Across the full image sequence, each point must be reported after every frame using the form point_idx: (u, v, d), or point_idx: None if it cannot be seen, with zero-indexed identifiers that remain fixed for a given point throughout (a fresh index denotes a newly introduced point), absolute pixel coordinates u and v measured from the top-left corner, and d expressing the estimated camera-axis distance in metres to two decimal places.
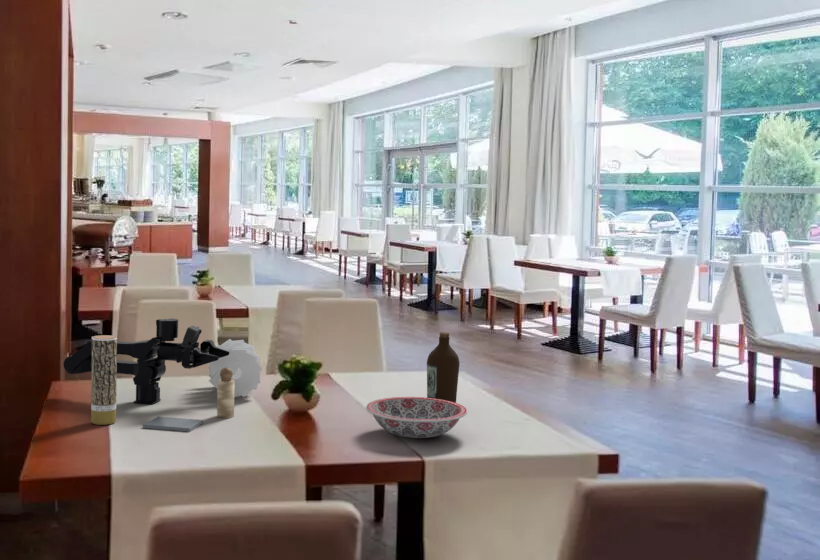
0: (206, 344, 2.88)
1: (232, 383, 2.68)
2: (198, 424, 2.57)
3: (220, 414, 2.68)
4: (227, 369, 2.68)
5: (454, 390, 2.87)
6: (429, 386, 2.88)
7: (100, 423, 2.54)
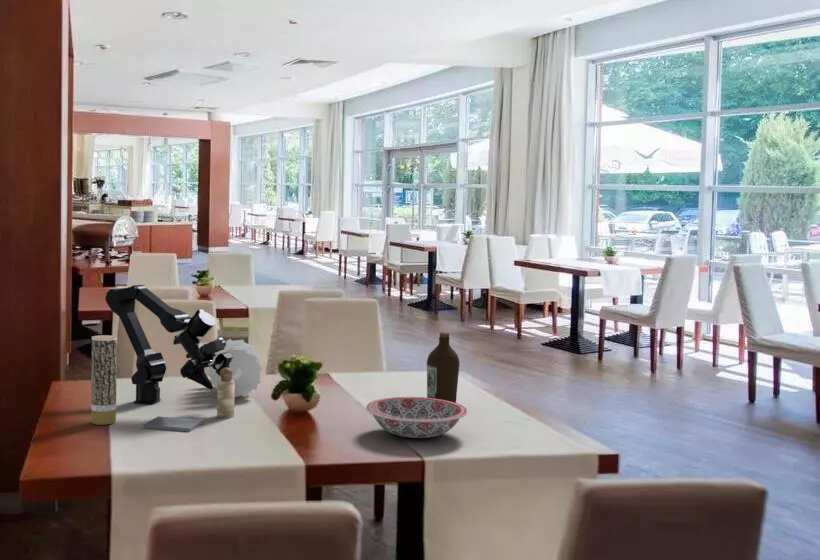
0: None
1: (232, 383, 2.68)
2: (198, 424, 2.57)
3: (220, 414, 2.68)
4: (227, 369, 2.68)
5: (454, 390, 2.87)
6: (429, 386, 2.88)
7: (100, 423, 2.54)
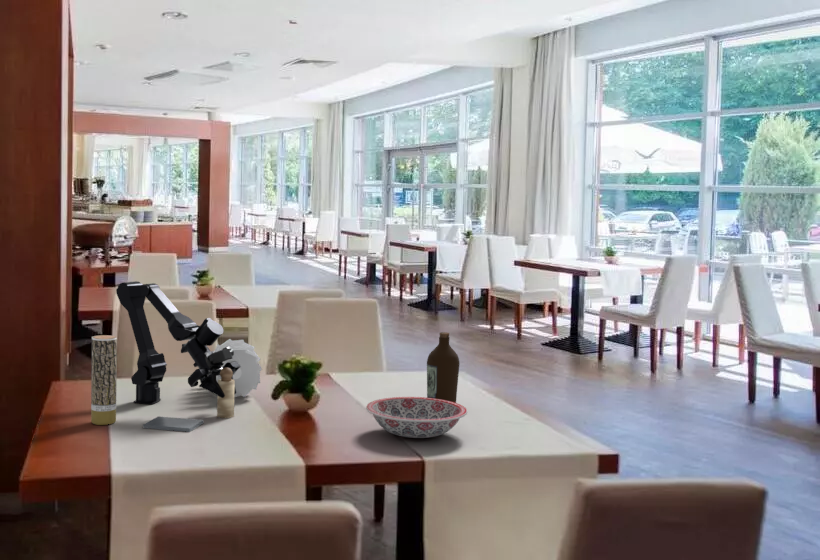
0: None
1: (232, 383, 2.68)
2: (198, 424, 2.57)
3: (220, 414, 2.68)
4: (227, 369, 2.68)
5: (454, 390, 2.87)
6: (429, 386, 2.88)
7: (100, 423, 2.54)
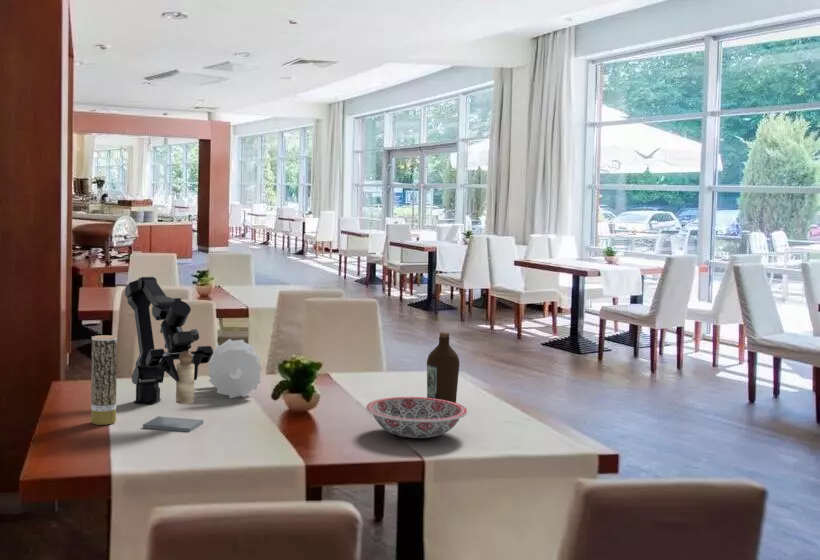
0: None
1: (188, 367, 2.54)
2: (198, 424, 2.57)
3: (176, 399, 2.56)
4: (184, 352, 2.55)
5: (454, 390, 2.87)
6: (429, 386, 2.88)
7: (100, 423, 2.54)
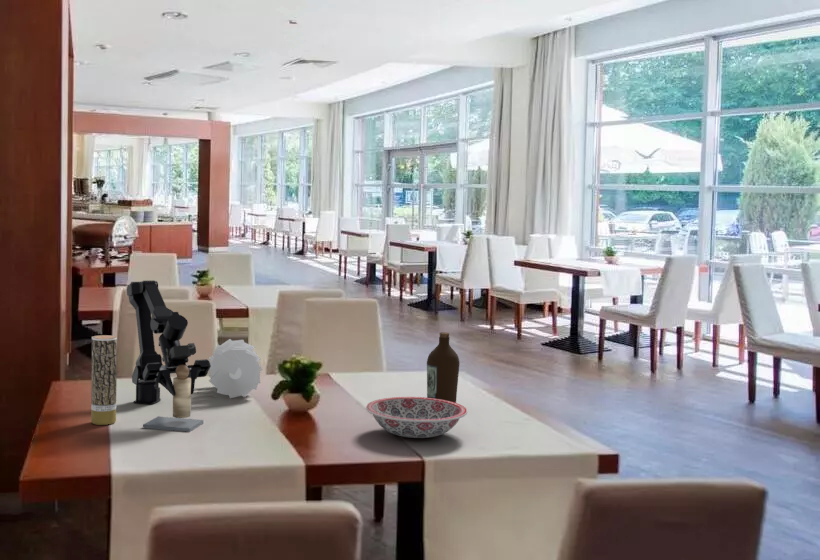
0: None
1: (184, 382, 2.54)
2: (198, 424, 2.57)
3: (173, 413, 2.56)
4: (181, 366, 2.55)
5: (454, 390, 2.87)
6: (429, 386, 2.88)
7: (100, 423, 2.54)
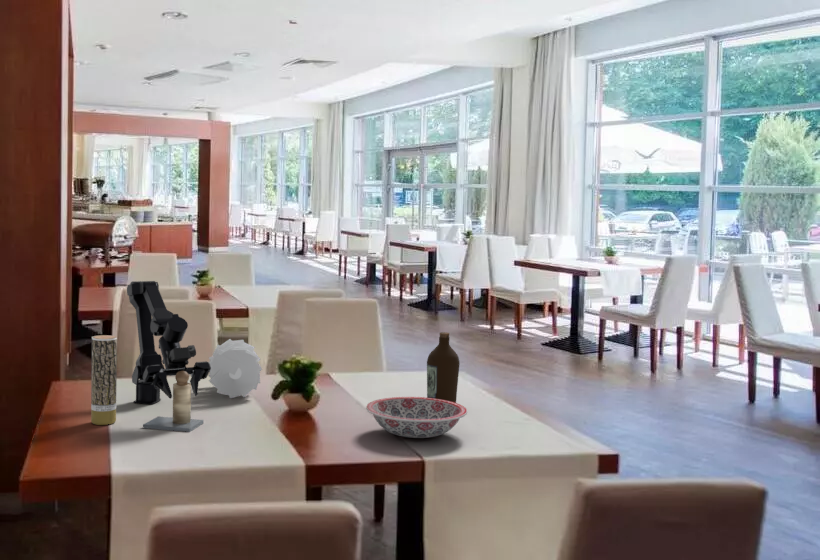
0: None
1: (184, 388, 2.54)
2: (198, 424, 2.57)
3: (173, 419, 2.56)
4: (181, 372, 2.55)
5: (454, 390, 2.87)
6: (429, 386, 2.88)
7: (100, 423, 2.54)
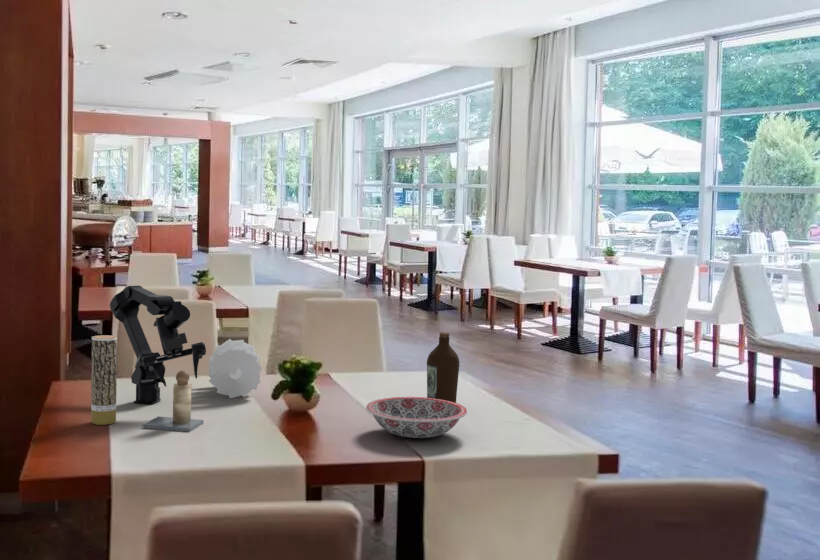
0: None
1: (185, 388, 2.54)
2: (198, 424, 2.57)
3: (173, 419, 2.56)
4: (181, 372, 2.55)
5: (454, 390, 2.87)
6: (429, 386, 2.88)
7: (100, 423, 2.54)
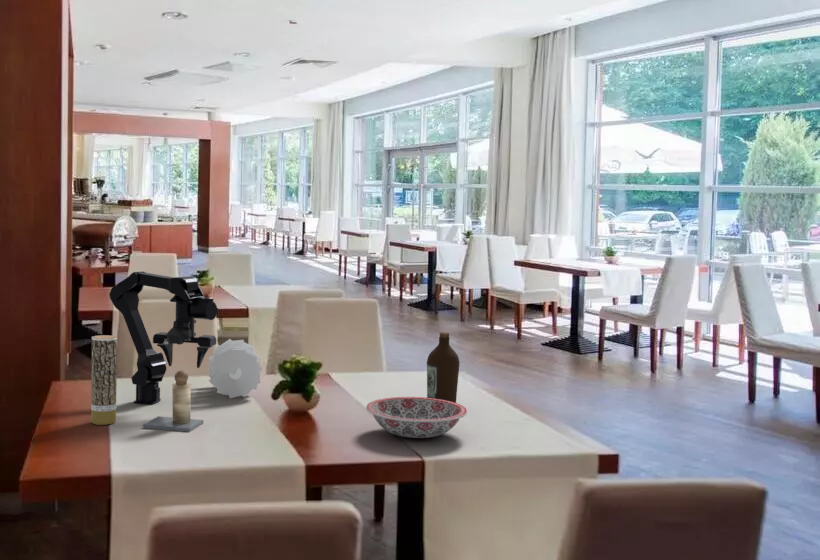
0: None
1: (183, 387, 2.54)
2: (198, 424, 2.57)
3: (173, 419, 2.56)
4: (180, 372, 2.55)
5: (454, 390, 2.87)
6: (429, 386, 2.88)
7: (100, 423, 2.54)
